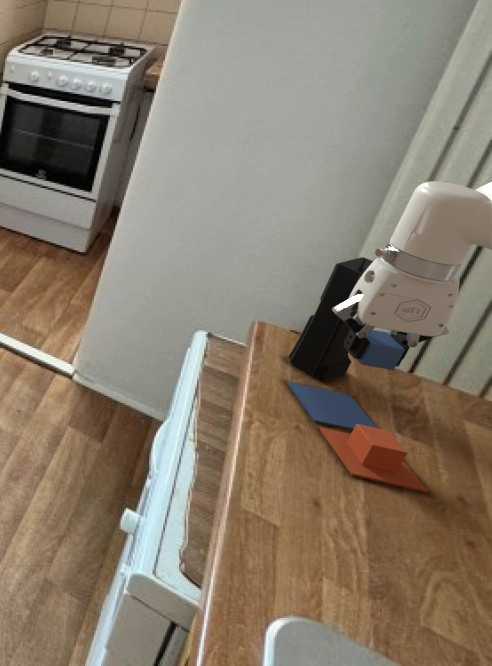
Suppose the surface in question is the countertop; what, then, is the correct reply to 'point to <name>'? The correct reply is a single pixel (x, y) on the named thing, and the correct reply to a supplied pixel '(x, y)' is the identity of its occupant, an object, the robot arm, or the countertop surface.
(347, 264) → the tall black tower box
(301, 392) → the slate mat
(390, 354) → the slate block
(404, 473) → the terracotta mat
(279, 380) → the countertop surface
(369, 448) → the terracotta block
